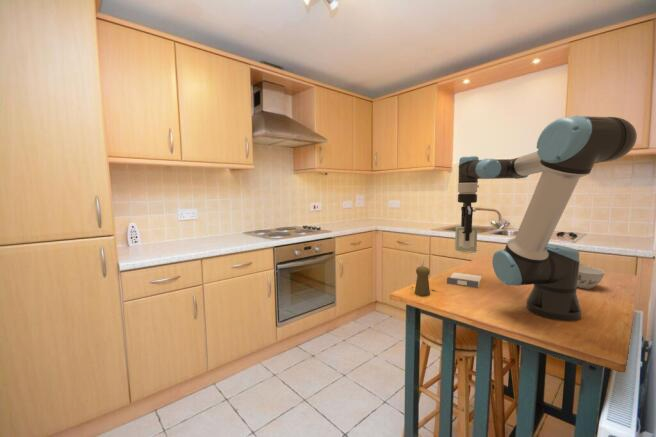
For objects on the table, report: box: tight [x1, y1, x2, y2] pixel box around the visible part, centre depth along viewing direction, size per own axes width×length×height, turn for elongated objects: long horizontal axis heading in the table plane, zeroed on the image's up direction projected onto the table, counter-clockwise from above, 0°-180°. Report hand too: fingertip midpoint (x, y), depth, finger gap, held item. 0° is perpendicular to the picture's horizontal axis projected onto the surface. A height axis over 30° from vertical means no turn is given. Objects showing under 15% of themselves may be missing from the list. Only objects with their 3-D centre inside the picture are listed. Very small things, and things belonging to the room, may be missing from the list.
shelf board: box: [446, 272, 482, 289], centre depth 135 cm, size 18×12×4 cm, turn 149°
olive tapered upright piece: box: [414, 266, 431, 297], centre depth 122 cm, size 6×6×11 cm
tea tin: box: [454, 226, 478, 252], centre depth 132 cm, size 8×4×10 cm, turn 75°
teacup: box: [577, 264, 605, 290], centre depth 128 cm, size 15×12×8 cm
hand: (465, 246), depth 132 cm, fingers closed on tea tin, 4 cm apart
